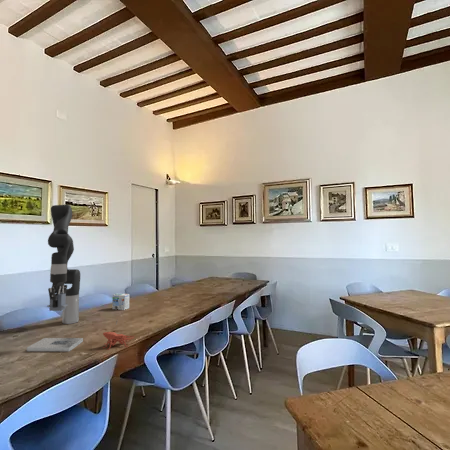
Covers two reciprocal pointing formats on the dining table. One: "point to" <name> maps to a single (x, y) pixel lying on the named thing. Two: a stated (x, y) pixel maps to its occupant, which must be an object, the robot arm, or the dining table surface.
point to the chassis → (55, 344)
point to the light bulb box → (120, 301)
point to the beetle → (116, 338)
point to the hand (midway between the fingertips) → (57, 306)
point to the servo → (60, 303)
